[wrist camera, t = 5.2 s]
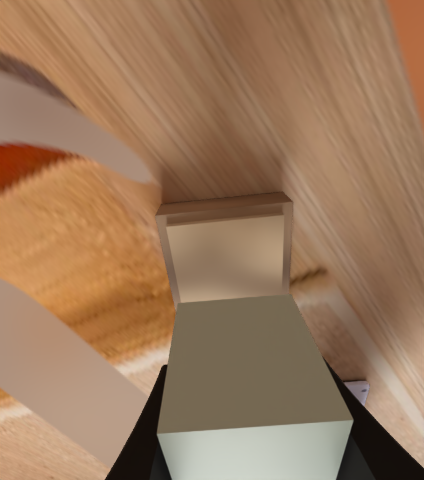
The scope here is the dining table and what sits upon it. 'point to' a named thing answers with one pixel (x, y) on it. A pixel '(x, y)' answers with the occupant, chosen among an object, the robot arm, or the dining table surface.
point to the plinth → (227, 247)
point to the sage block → (249, 395)
